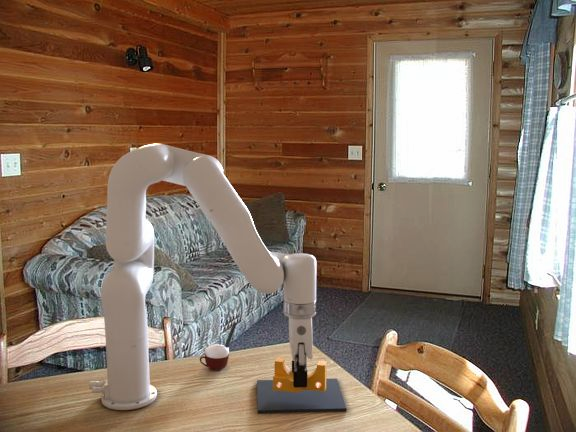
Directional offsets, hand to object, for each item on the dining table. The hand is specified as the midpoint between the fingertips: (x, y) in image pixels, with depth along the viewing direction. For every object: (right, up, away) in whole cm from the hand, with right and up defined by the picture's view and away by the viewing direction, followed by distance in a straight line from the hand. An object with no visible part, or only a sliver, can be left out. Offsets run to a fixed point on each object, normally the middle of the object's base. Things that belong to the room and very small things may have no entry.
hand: (299, 380), depth 146 cm
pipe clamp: (0, -2, 0) cm, 2 cm away
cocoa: (-21, -1, +17) cm, 27 cm away
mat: (0, -4, +1) cm, 4 cm away
